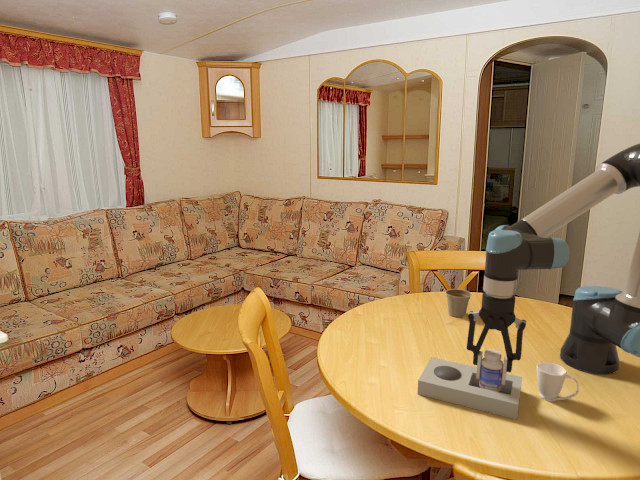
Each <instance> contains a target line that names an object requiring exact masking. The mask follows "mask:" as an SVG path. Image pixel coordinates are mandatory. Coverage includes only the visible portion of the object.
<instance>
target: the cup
mask: <svg viewBox="0 0 640 480" xmlns="http://www.w3.org/2000/svg"><path fill="white" fill-rule="evenodd" d="M535 367H536V382H537V389H538V396H539V397H540V399H542V400H544V401H547V402H556V401H565V400H569V399H572V398H574V397H575V396H577V395H578V393H579V382H578V380H577V379H576V377H575V376H573V375H569V374H568V372H567V370H566V369H565V367H563V366H562V365H560V364H557V363H553V362H543V361H541V362H540V363H538V364H536V365H535ZM565 379H572V380H573V381H574V382H575V384H576V391H575V393H572V394H570V395H567V396H563V397H558V396H559V395H560V393H561V390H562V389H563V385H564V383H565Z"/></svg>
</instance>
